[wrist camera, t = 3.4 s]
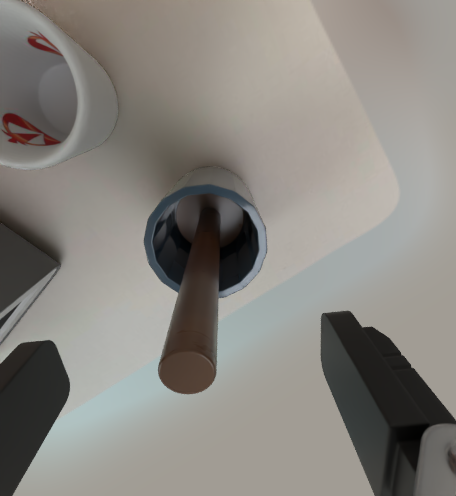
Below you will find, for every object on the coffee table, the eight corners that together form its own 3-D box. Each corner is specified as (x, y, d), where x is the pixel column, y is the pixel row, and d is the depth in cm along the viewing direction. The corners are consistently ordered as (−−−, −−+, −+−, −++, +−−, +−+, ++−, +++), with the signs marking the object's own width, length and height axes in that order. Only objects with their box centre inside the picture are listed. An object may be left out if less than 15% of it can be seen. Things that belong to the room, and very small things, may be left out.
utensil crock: (249, 161, 24) (262, 177, 16) (255, 242, 27) (270, 293, 18) (163, 171, 24) (132, 192, 16) (178, 250, 27) (157, 304, 18)
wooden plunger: (239, 175, 24) (277, 279, 7) (244, 236, 26) (285, 431, 9) (175, 182, 24) (64, 301, 7) (185, 242, 26) (116, 446, 9)
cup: (-29, 98, 22) (-158, 81, 15) (4, -15, 20) (-129, -104, 12) (105, 177, 24) (53, 198, 17) (150, 85, 22) (113, 61, 14)
